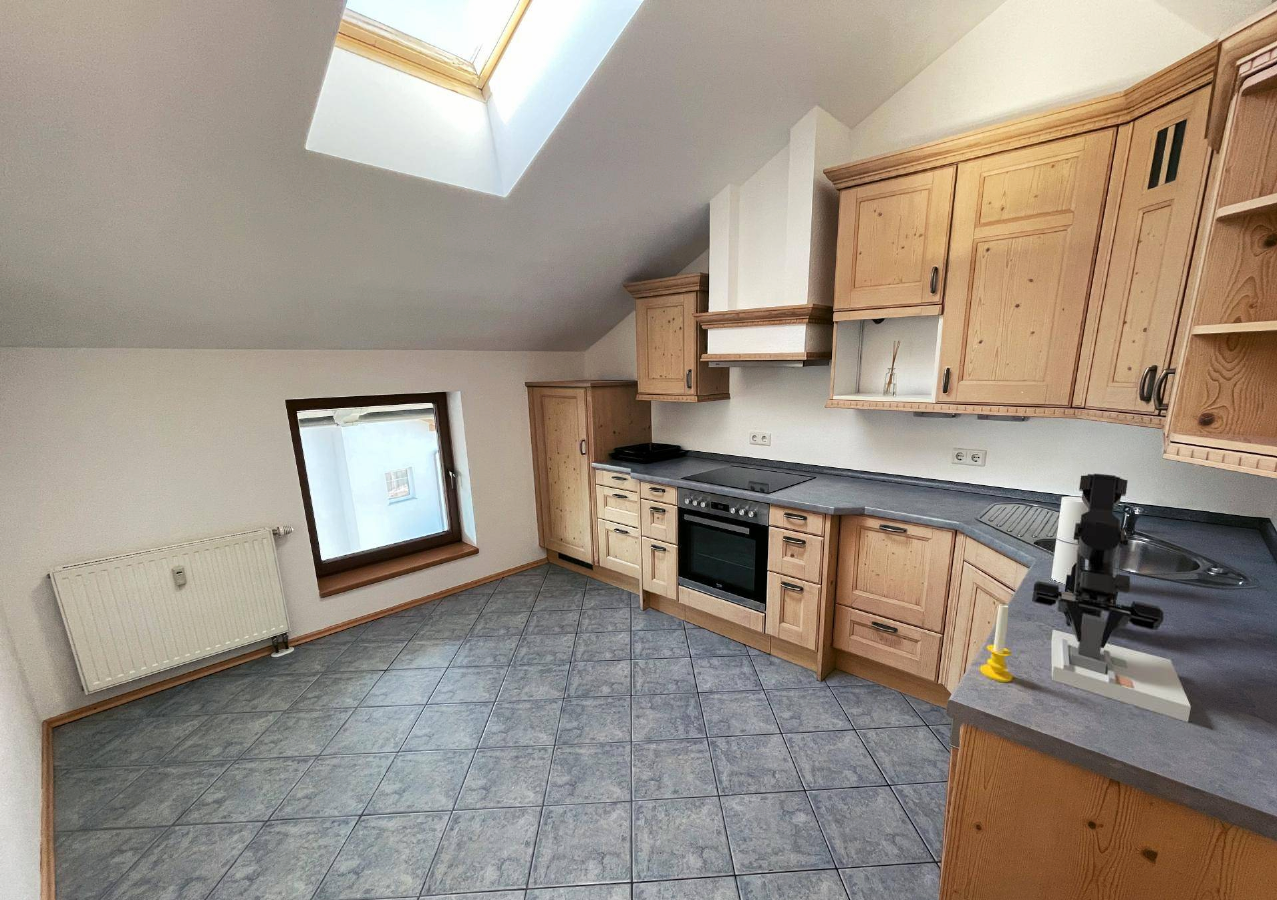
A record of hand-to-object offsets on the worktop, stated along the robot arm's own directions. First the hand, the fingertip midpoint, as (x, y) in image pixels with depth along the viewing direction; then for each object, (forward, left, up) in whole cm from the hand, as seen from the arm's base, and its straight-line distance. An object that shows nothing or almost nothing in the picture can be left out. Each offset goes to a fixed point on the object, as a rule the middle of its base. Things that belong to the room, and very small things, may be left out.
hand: (1090, 644), depth 92 cm
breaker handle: (-1, 0, -5) cm, 5 cm away
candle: (+8, -14, -8) cm, 18 cm away
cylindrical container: (-60, -1, -8) cm, 60 cm away
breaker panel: (-6, +4, -8) cm, 11 cm away
